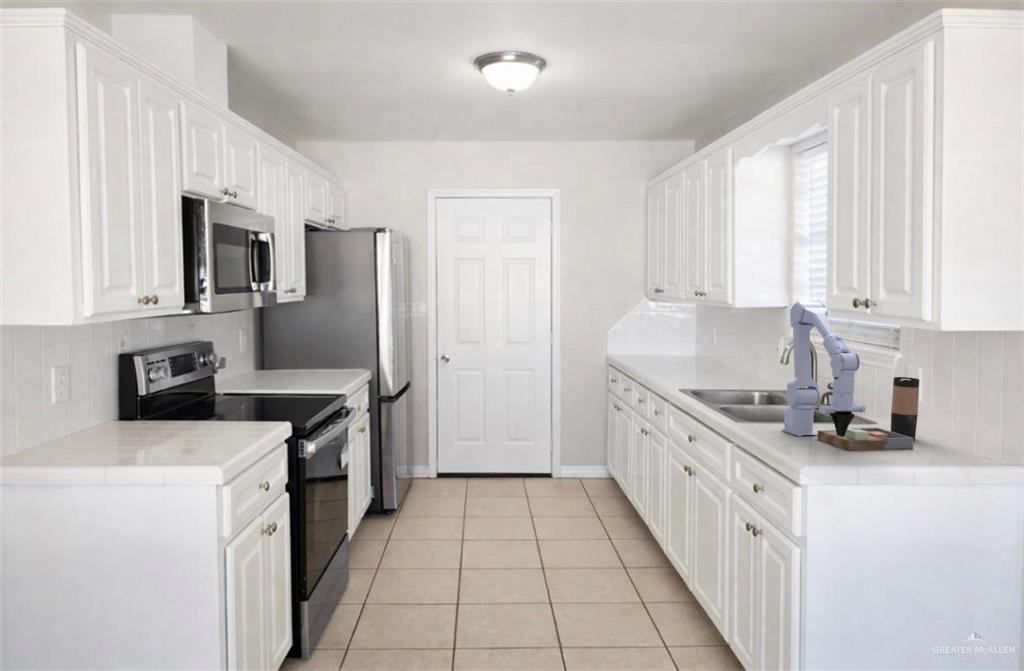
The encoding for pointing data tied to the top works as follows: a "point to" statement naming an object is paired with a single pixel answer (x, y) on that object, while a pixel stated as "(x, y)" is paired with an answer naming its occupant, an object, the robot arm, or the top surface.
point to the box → (893, 439)
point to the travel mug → (905, 406)
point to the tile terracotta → (878, 435)
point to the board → (851, 441)
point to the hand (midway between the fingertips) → (840, 436)
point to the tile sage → (857, 434)
